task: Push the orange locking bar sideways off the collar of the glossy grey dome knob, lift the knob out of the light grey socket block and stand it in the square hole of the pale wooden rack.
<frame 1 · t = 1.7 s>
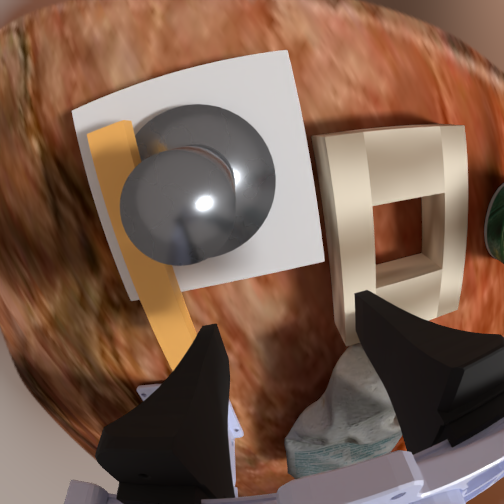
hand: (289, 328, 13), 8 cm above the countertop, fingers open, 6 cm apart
glossy grey dome knob: (202, 174, 18), resting in socket block
socket block: (202, 174, 18), on the countertop
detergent: (349, 398, 26), on the countertop, touching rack
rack: (391, 226, 20), on the countertop
locking bar: (150, 267, 15), point 5 cm above the countertop, slide at 0.0 cm
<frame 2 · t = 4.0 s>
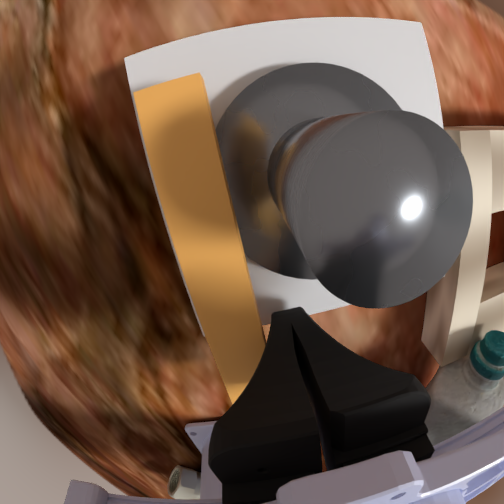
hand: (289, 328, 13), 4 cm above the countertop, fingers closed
glossy grey dome knob: (301, 163, 14), resting in socket block
socket block: (301, 163, 14), on the countertop
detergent: (416, 415, 22), on the countertop, touching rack
pipe fitting: (205, 478, 25), on the countertop
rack: (485, 233, 15), on the countertop
locking bar: (226, 301, 11), point 5 cm above the countertop, slide at 1.0 cm, touching gripper
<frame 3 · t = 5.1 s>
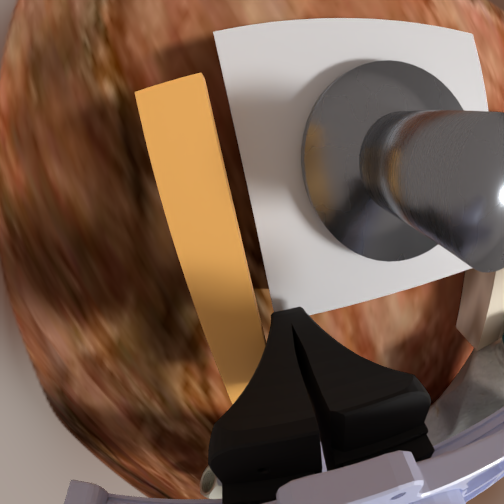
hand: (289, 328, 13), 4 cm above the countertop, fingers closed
glossy grey dome knob: (366, 154, 14), resting in socket block
socket block: (366, 154, 13), on the countertop
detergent: (444, 403, 22), on the countertop, touching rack
pipe fitting: (236, 476, 25), on the countertop
locking bar: (226, 301, 11), point 5 cm above the countertop, slide at 4.3 cm, touching gripper
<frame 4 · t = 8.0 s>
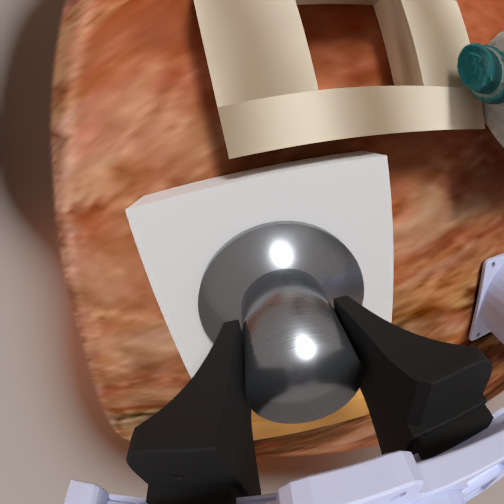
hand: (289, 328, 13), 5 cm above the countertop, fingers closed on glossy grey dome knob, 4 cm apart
glossy grey dome knob: (274, 272, 18), resting in socket block, touching gripper
socket block: (274, 272, 18), on the countertop
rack: (341, 45, 13), on the countertop
locking bar: (358, 400, 16), point 5 cm above the countertop, slide at 4.3 cm
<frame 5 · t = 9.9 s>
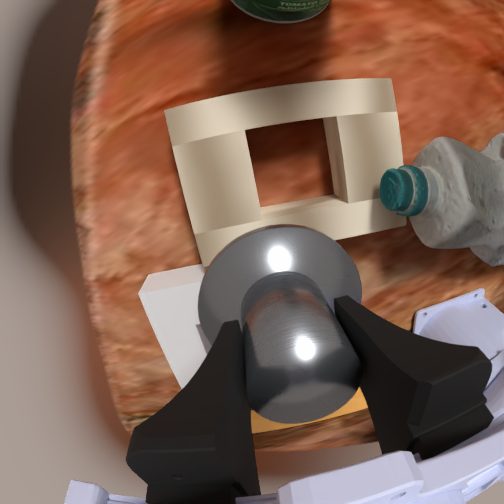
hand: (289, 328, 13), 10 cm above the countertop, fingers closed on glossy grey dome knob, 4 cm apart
glossy grey dome knob: (272, 276, 18), point 5 cm above the countertop, touching gripper
socket block: (240, 324, 25), on the countertop
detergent: (476, 187, 21), on the countertop, touching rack
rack: (290, 162, 20), on the countertop
locking bar: (301, 413, 23), point 5 cm above the countertop, slide at 4.3 cm
when the fingers open (6 cm above the countertop, at t = 11.7 s): glossy grey dome knob stays where it is, resting in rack.
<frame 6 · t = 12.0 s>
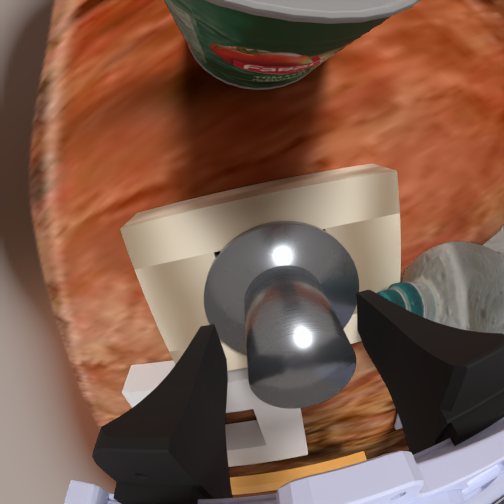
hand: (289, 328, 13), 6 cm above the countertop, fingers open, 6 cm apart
glossy grey dome knob: (275, 269, 19), resting in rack
canned tomato: (258, 27, 13), on the countertop
socket block: (225, 405, 23), on the countertop
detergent: (481, 264, 19), on the countertop, touching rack
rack: (272, 265, 19), on the countertop
locking bar: (285, 479, 22), point 5 cm above the countertop, slide at 4.3 cm
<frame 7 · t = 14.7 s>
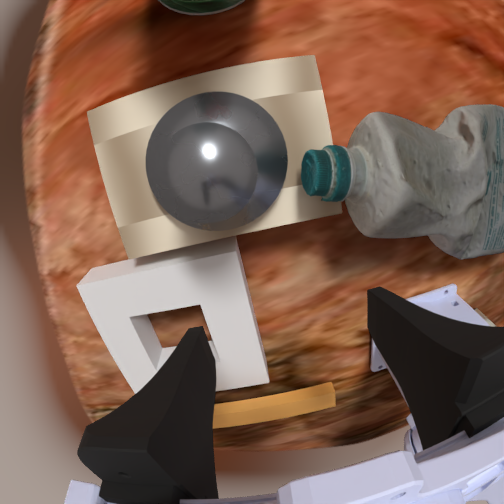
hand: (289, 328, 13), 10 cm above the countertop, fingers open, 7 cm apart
glossy grey dome knob: (219, 157, 20), resting in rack
socket block: (181, 318, 24), on the countertop
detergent: (438, 171, 20), on the countertop, touching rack
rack: (216, 152, 20), on the countertop
locking bar: (244, 412, 23), point 5 cm above the countertop, slide at 4.3 cm
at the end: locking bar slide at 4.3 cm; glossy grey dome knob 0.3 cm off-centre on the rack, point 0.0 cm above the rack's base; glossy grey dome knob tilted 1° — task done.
